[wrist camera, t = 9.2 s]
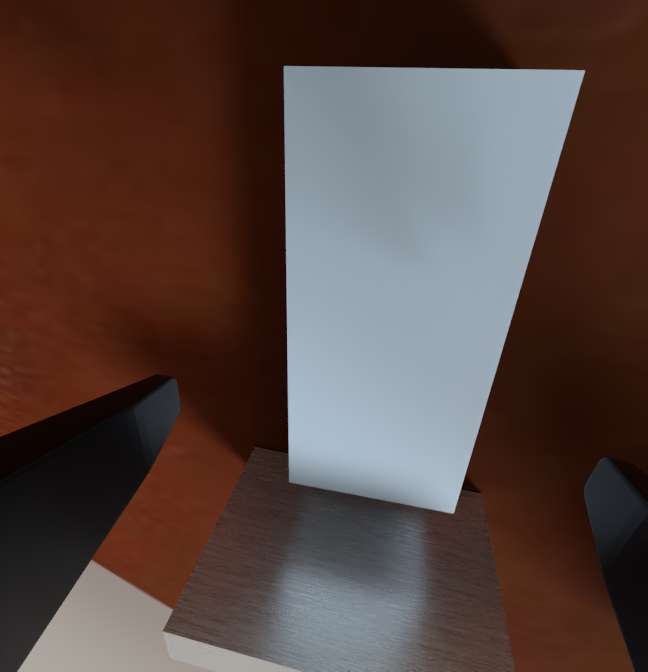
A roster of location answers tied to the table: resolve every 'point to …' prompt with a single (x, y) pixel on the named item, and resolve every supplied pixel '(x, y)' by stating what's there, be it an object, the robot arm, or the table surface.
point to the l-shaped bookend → (340, 584)
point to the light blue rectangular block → (407, 263)
